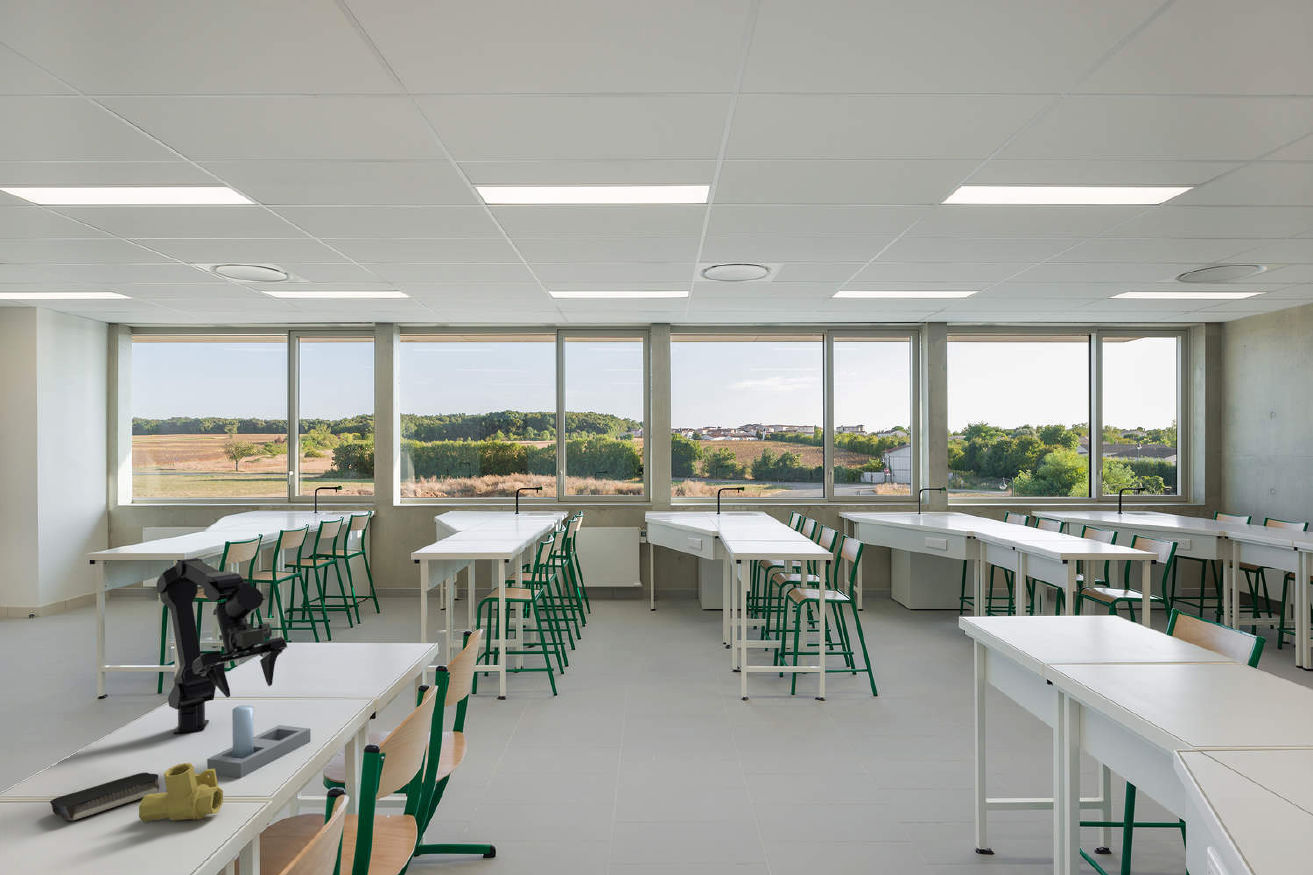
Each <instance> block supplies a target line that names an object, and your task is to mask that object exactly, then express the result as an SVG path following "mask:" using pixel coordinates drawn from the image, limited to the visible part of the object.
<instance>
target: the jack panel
mask: <svg viewBox="0 0 1313 875" xmlns="http://www.w3.org/2000/svg"><path fill="white" fill-rule="evenodd" d="M310 742H311V728H310V727H309V728H308V727H298V726H290V725H281V724H279V725H277V726H275V727H272V728H270V729H268V730H266V731H264V732H261V733H260V734H258V735H255V736H254V754H252V755H250V756H248V757H246V758H244V759H241V758H233V746H231V747H230V748H228V749H226V750H223V751H221V752H219V753H217V754H215V755H213V756H211V757H209V758H207V759H206V767H207V768H206V770H207V769H215V771H216V775H219V776H226V777H232V778H239V779H241V778H243V777H245V776H247V775H249V774H251V773H253V772H255V771H257V770H258V769H260V768H262V767H264V766H267V765H268V764H270V763H272V762H274V761H276V760H278V759H280V758H282V757H284V756H285V755H288V754H289V753H291V752H293V751H295V750H297V749H299V748H301V747H303V746H304V745H306V744H308V743H310Z"/></svg>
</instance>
